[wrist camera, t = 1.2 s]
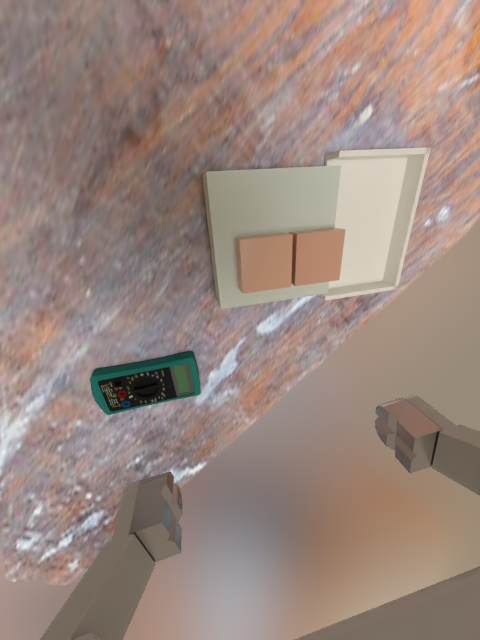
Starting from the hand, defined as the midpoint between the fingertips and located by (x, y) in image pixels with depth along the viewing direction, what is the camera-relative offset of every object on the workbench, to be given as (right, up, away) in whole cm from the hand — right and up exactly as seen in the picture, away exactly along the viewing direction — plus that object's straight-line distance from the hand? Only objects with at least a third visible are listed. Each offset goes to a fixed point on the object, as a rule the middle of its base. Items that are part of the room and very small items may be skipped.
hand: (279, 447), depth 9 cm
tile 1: (+7, +13, +21) cm, 26 cm away
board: (+2, +16, +23) cm, 28 cm away
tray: (+16, +18, +25) cm, 35 cm away
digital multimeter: (-15, -4, +28) cm, 33 cm away
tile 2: (+1, +12, +20) cm, 23 cm away
